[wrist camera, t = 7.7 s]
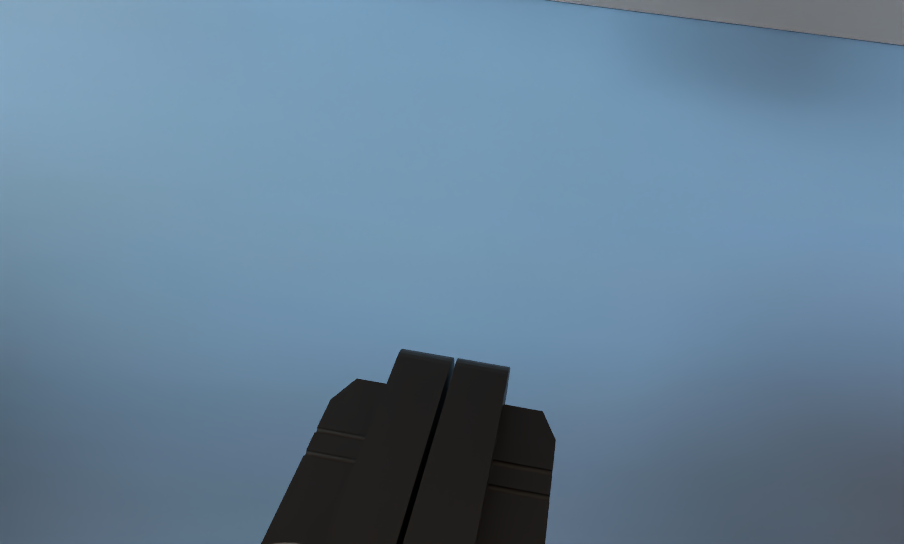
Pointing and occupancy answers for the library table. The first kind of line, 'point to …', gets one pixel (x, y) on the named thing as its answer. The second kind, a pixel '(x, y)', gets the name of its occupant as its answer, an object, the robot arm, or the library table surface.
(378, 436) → the robot arm
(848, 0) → the console
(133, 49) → the library table surface
